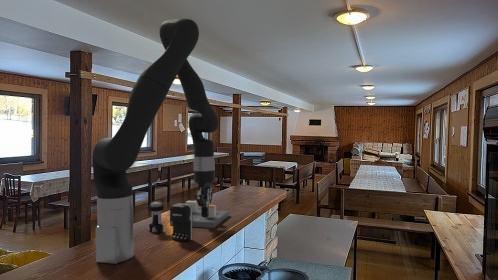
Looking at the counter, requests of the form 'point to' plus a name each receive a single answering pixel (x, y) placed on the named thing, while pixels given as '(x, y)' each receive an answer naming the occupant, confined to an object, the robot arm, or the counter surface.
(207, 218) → the breaker board
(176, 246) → the counter surface
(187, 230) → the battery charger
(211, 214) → the handle
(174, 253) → the counter surface
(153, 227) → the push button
